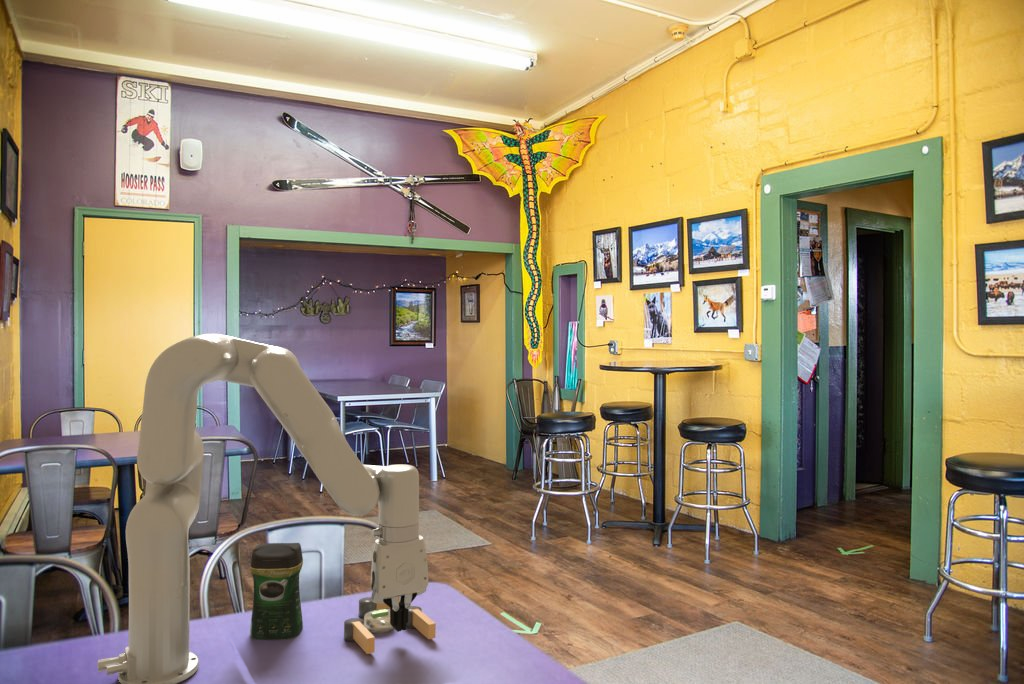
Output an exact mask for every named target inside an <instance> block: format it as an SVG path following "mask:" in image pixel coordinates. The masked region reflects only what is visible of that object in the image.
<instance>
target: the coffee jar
mask: <svg viewBox="0 0 1024 684" xmlns="http://www.w3.org/2000/svg"><path fill="white" fill-rule="evenodd" d="M301 545H302V544H301V543H300V542H271V543H265V542H262V543H261V542H260V543H258V544H257V545H256V546H255V547H254V548H253V550H252V552H251V553H252V554H251V558H250V559H251V560H250V566H249V570H250V573H251V576H252V579H253V598H252V600H253V601H252V609H251V610H252V612H251V620H250V631H249V636H250V638H252V639H254V640H259V641H260V640H261V641H276V640H278V641H279V640H280V641H281V640H289V639H294V638H296V637H298V636H299V635H300V634H301V633H302V631H303V630H304V629H303V627H304V625H303V624H304V623H303V611H302V604H301V602H302V601H301V594H300V573H301V571H302V567H303V565H304V558H303V550H302V546H301Z"/></svg>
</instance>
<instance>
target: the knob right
mask: <svg viewBox="0 0 1024 684" xmlns="http://www.w3.org/2000/svg"><path fill="white" fill-rule="evenodd" d="M422 609H423V608H422V607H421V606H417V605H411V606H410V608H408V623H406V629H415V628H416V630H417V631H418V632H420V633H421V634H422V636H424V637H425V638H426V639H428V640H432V639H436V625H437V624H436V622H435V621H433V620H432V619H431V618H430V617H429V616H427V615H426V614H425V613H424V612H423V611H422Z"/></svg>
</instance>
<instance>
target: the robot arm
mask: <svg viewBox="0 0 1024 684" xmlns="http://www.w3.org/2000/svg"><path fill="white" fill-rule="evenodd" d="M216 381H222V382H227V383H232V384H237V385H242V386H246V387H252V388H254V389H255V390H256V392H257V393H258V395H259V396H260V397H261V399H262V400H263V401H264V403H265V404H266V406H267V407H268V408H269V409H270V411H271V412H272V413H273V415H274V416H275V417H276V419H277V420H278V422H279V423H280V424H281V426H282V427H283V429H284V430H285V432H286V433H287V434H288V436H289V437H290V439H291V440H292V441H293V443H294V445H295V446H296V448H297V450H298V451H299V453H300V454H301V455H302V457H303V458H304V459H305V461H306V463H308V465H309V467H310V469H311V470H312V471H313V473H314V475H315V476H316V478H317V479H318V480H319V482H320V484H322V486H323V488H324V489H325V490H326V492H327V493H328V495H330V497H331V498H332V500H333V501H334V502H335V504H336V505H337V506H338V507H339V508H340V510H342V511H343V512H344V513H346V514H347V515H349V516H353V517H361V516H365V515H368V514H369V513H371V512H372V511H373V510H374V509H375V508H376V506H377V505H378V523H377V525H376V526H377V527H376V528H375V529H371V536H372V538H378V539H375V542H374V546H373V549H372V550H373V551H372V557H371V558H372V559H371V570H370V588H371V596H370V597H371V600H372V601H373V602H374V603H385V604H386V605H388V606H389V607H390V609H389V611H390V624H391V626H393V628H394V629H393V630H396V632H402V631H406V630H407V628H406V623H408V608H410V606H412V602H413V601H414V600H415V599H416V598H417V597H418V596H420V595H422V594H424V593H426V592H427V588H428V586H429V568H428V567H429V566H428V556H427V548H426V544H425V539H424V537H423V536H422V535H420V473H419V470H418V469H417V467H416V466H414V465H411V464H406V463H405V464H402V463H401V464H389V465H384V466H383V465H372V464H363V463H362V462H361V460H360V459H359V458H358V456H357V454H356V453H355V452H354V450H353V449H352V447H351V446H350V444H349V443H348V441H347V439H346V436H344V433H343V432H342V429H341V427H340V424H339V421H338V419H337V417H336V416H335V414H334V412H333V410H332V409H331V408H330V406H329V405H328V404H327V402H326V401H325V400H324V398H323V397H322V396H321V394H320V393H319V391H318V390H317V389H316V387H315V386H314V385H313V383H312V382H311V380H310V379H309V377H308V376H307V374H306V373H305V371H304V370H303V369H302V367H301V365H300V362H299V359H298V357H296V355H295V354H294V353H293V352H292V351H291V350H289V349H287V348H285V347H281V346H276V345H275V346H274V345H269V344H265V343H261V342H260V343H259V342H255V341H252V340H246V339H242V338H237V337H234V336H230V335H225V334H220V333H204V334H203V333H202V334H197V335H193V336H191V337H187V338H185V339H182V340H179V341H177V342H176V343H174V344H172V345H170V346H168V347H167V348H166V349H165V350H164V351H162V352H161V353H160V354H159V355H158V356H157V357H156V358H155V360H154V362H153V363H152V364H151V366H150V368H149V370H148V373H147V376H146V380H145V385H144V386H145V387H144V393H143V394H144V395H143V405H142V413H141V418H140V429H139V440H138V448H137V454H136V455H137V456H136V465H137V470H138V471H139V473H140V476H141V477H142V478H143V479H144V480H145V491H144V492H145V493H144V495H143V497H142V498H141V499H140V500H138V502H136V504H135V505H134V506H133V508H132V509H131V511H130V513H129V515H128V518H127V520H126V525H125V542H126V543H125V544H126V551H127V559H128V560H127V562H128V646H126V647H125V651H124V652H122V653H119V654H118V656H114V657H107V658H106V657H105V658H101V659H97V673H99V672H105V671H106V675H107V676H109V675H113V674H116V673H117V680H119V681H118V683H119V682H120V683H121V684H179V683H182V682H184V681H185V680H187V679H189V678H190V677H191V676H194V674H195V673H196V672H197V670H198V669H199V663H200V662H199V657H198V656H197V655H196V654H195V653H193V652H191V651H190V605H191V604H190V603H191V602H190V598H191V596H190V595H191V594H190V593H191V592H190V590H191V587H190V586H191V585H190V583H191V581H190V579H191V576H190V575H191V574H190V572H191V571H190V570H191V567H190V565H191V564H190V550H189V549H190V548H189V530H190V527H191V526H192V524H193V522H194V521H195V519H196V517H197V514H198V513H199V508H200V501H201V500H200V499H201V492H202V491H201V490H202V478H203V469H204V457H205V456H204V454H205V450H204V443H203V439H202V437H201V436H200V433H198V431H197V430H195V429H196V417H197V410H198V394H199V391H200V389H202V387H203V386H204V385H207V384H209V383H214V382H216ZM398 596H400V598H399V603H398ZM120 683H119V684H120Z"/></svg>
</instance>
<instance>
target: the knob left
mask: <svg viewBox="0 0 1024 684" xmlns="http://www.w3.org/2000/svg"><path fill="white" fill-rule="evenodd" d="M343 623H344V624H343V640H344V641H346V642H350V643H351V642H352V643H353V642H355V643H356V644H357V645H358V646H359V647H360V648H361V650H363V652H365V654H366V655H369V654H373V653H375V648H376V647H375V640H376V639H375V636H374V634H373V633H370V632H369V631H368V630H367V629H366V628H365V627H364V619H363V618H360V617H355V618H353V617H352V618H348V619H346V620H344V622H343Z"/></svg>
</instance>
